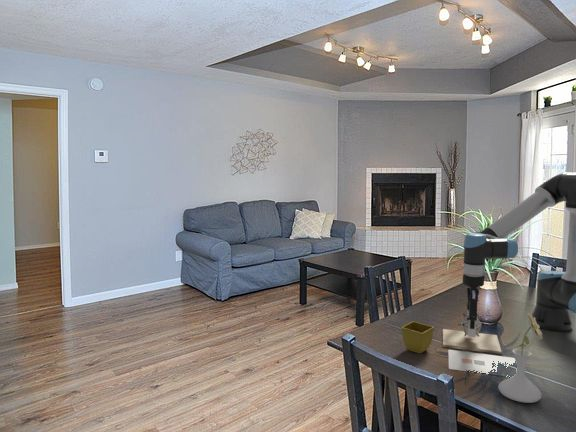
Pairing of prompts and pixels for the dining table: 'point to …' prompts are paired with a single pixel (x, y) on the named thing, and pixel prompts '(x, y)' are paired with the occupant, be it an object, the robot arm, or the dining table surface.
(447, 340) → the wooden pad
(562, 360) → the dining table surface
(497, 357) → the card
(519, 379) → the flower in vase
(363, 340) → the dining table surface
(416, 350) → the flower pot
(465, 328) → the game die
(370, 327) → the dining table surface
